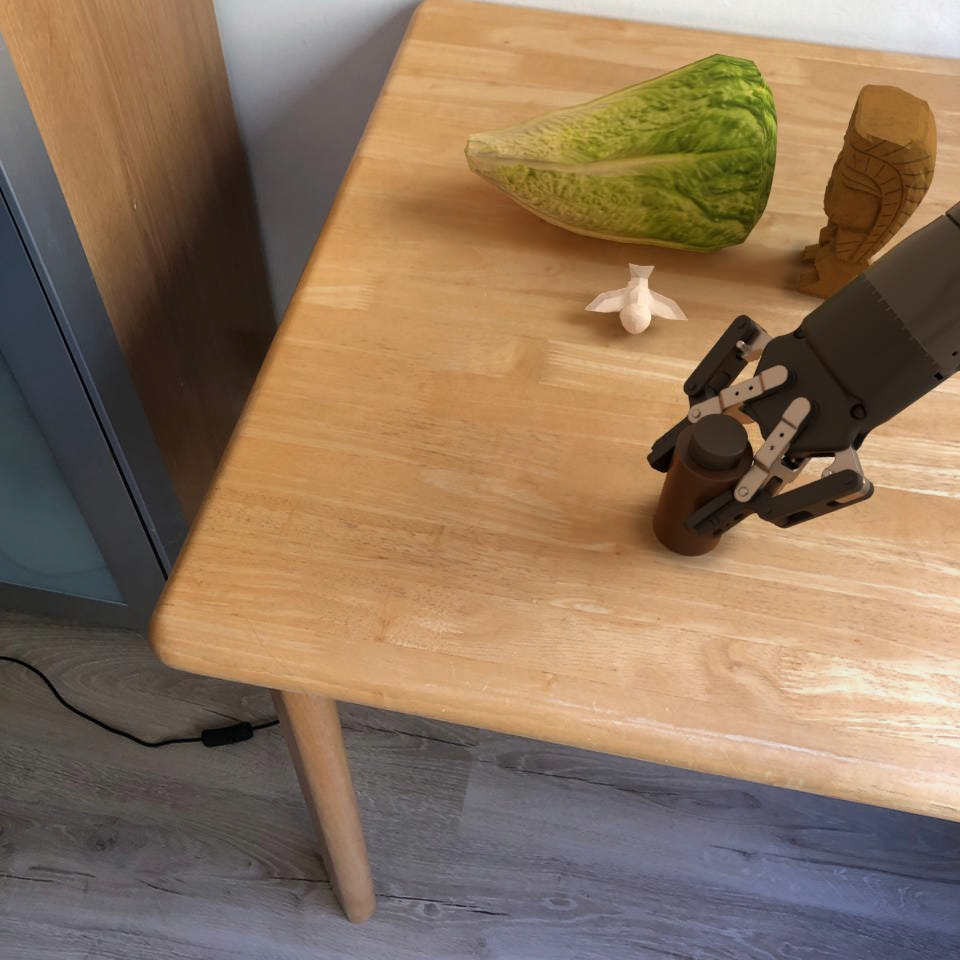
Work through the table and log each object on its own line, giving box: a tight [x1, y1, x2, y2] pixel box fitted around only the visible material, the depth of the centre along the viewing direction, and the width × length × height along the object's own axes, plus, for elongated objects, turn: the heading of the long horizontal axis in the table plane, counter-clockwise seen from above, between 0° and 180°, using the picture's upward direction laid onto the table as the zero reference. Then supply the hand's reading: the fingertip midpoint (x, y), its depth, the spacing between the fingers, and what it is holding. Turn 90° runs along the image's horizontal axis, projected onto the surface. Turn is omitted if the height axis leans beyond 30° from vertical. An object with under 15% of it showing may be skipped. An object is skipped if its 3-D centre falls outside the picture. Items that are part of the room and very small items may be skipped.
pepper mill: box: [652, 414, 755, 557], centre depth 60 cm, size 5×5×10 cm
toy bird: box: [583, 262, 688, 335], centre depth 74 cm, size 8×5×5 cm, turn 83°
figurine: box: [796, 83, 938, 300], centre depth 73 cm, size 7×7×15 cm
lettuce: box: [463, 53, 778, 253], centre depth 78 cm, size 14×24×15 cm
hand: (673, 497), depth 61 cm, fingers closed on pepper mill, 4 cm apart
